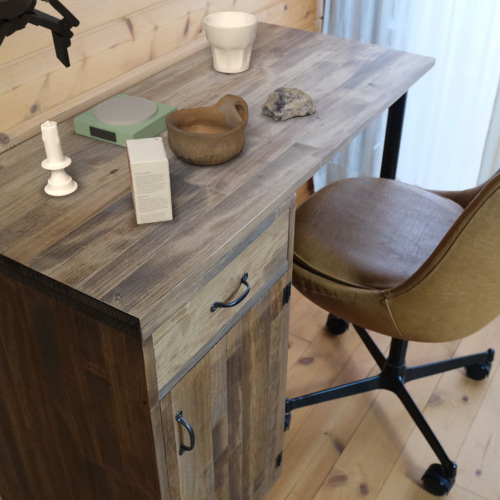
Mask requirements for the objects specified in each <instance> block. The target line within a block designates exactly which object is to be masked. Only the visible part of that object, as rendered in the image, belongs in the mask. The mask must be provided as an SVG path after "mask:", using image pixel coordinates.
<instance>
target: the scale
mask: <svg viewBox="0 0 500 500" xmlns="http://www.w3.org/2000/svg"><path fill="white" fill-rule="evenodd" d="M177 110H178V108H177V106H175V105H170V104H166V103H162V102H158V101H154V100H151V99H149V98H146V97H142V96H141V97H140V96H132V95H129V94H124V93H118V94H116V95H114V96H112V97H111V98H108V99H106V100H104V101H102V102H99V103H98V104H96V106H94V107H92V108H90V109H89V110H87V111H85V112H83V113H81V114H79V115H77V116H75V117H74V118H73V119H72V121H73V127H74V130H75V134H78V135H81V136H84V137H88V138H92V139H95V140H99V141H102V142H106V143H110V144H113V145H117V146H119V147H120V146H121V147H124V148H126V140H133V139H144V138H154V137H157V135H159V134H161V133H162V132H163V131H165V130H167V127H166V123H165V118H166V116H167V115H168V114H170V113H172V112H175V111H177Z"/></svg>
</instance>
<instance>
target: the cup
mask: <svg viewBox="0 0 500 500" xmlns="http://www.w3.org/2000/svg"><path fill="white" fill-rule="evenodd" d="M202 19H203V21H202V22H203V26H204V33H205V38H206V40H207V42H208V43H209V47H210V51H211V52H210V53H211V57H212V62H213V69H214V70H215V71H217V72H219V73H223V74H239V73H244V72H245V71H248V69H249V68H250V62H251V56H252V50H253V45H254V42H255V41H256V39H257V31H258V25H259V19H258V17H257V16H256V15H254V14H252V13H248V12H244V11H235V10H233V11H232V10H231V11H220V12H213V13H211V14H208V15H206V16H205V17H203V18H202Z"/></svg>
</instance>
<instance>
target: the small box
mask: <svg viewBox="0 0 500 500" xmlns="http://www.w3.org/2000/svg"><path fill="white" fill-rule="evenodd" d="M125 148H126V157H127V165H128V174H129V179H130V180H129V182H130V190H131V197H132V202H133V207H134V213H135V214H134V215H135V219H136V224H137V225H145V224H151V223H161V222H168V221H173V219H174V218H173V206H172V205H173V204H172V191H171V179H170V178H171V177H170V163H169V159H168V157H167V153H166V150H165V145H164V140H163V137H162V136H154V137H153V138H144V139H133V140H126V147H125Z"/></svg>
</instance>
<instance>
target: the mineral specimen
mask: <svg viewBox="0 0 500 500" xmlns="http://www.w3.org/2000/svg"><path fill="white" fill-rule="evenodd" d="M316 110H317V106H316V104H315V102H314V100H313V99H312V96H310V94H308V93H306V92H304V91H303V90H301V89H298V88H297V87H293V88H289V87H284V86H283V87H278V88H276V89H274V90H273V91H272V92H271V93H269V94H268V97H267V99H266V101H264V102H263V104H262V105H261V114H264V115H266V116H269V117H272V119H273V120H274V121H275V122H277V121H279V120H280V121H281V122H283V121H286V120H288V119H292V118H293V117H298V116H299V117H303V116H306V115H307V114H308V115H312V114H313V113H315V112H316Z"/></svg>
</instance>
